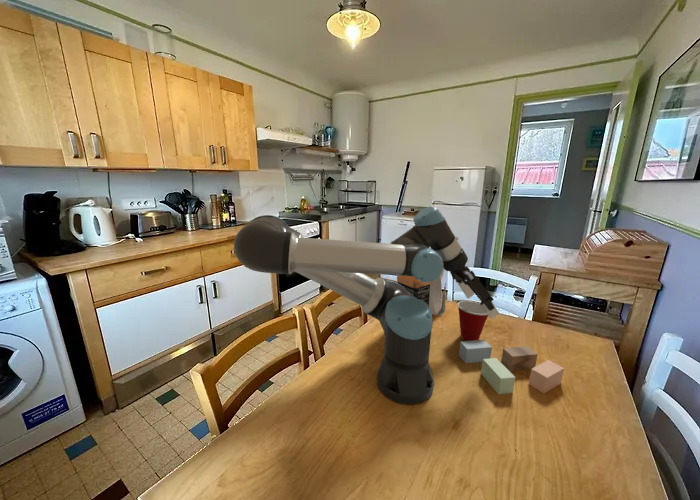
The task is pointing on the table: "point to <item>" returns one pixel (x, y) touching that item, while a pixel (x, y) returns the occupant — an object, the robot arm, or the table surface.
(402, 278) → the whiskey bottle
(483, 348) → the slate block
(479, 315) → the plastic cup
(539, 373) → the terracotta block
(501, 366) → the sage block
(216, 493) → the table surface
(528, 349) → the walnut block
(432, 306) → the skyscraper
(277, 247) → the robot arm
